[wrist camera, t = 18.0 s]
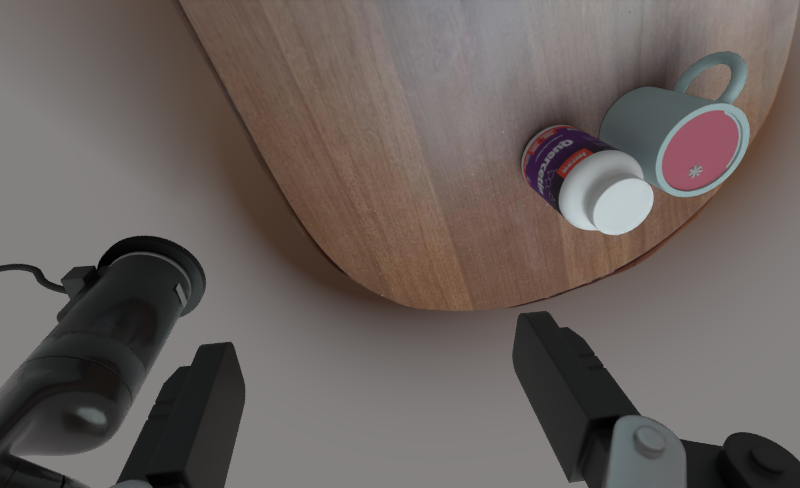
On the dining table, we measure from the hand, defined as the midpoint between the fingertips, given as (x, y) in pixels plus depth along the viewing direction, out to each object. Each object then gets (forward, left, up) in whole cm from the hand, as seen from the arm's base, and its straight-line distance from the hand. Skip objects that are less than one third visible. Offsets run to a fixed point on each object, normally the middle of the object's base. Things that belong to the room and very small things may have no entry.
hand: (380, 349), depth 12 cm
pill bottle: (+23, -7, -36) cm, 44 cm away
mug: (+34, -2, -36) cm, 50 cm away
